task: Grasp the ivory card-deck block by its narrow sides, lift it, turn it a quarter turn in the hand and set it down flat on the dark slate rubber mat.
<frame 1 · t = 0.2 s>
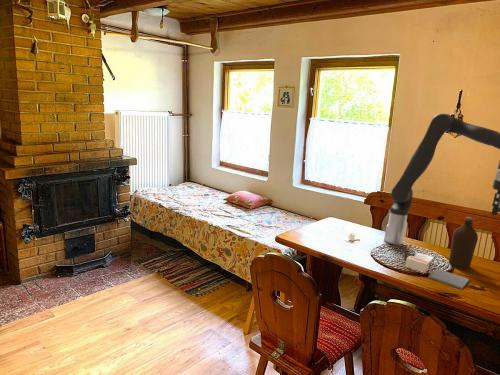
hand: (495, 213, 175), 29 cm above the table, fingers open, 8 cm apart
olive oil: (459, 265, 186), on the table
external hard drive: (421, 261, 189), on the table
deck block: (416, 269, 178), on the table
teacup and saucer: (356, 242, 208), on the table
mat: (448, 279, 169), on the table
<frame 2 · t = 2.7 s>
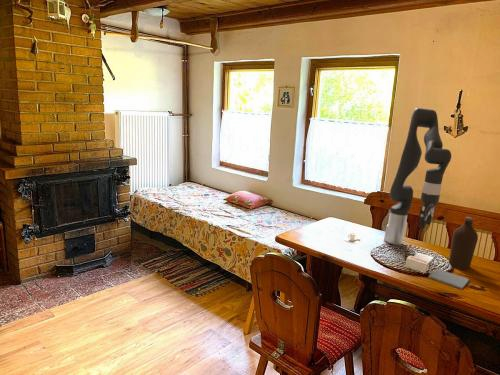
hand: (424, 226, 172), 22 cm above the table, fingers open, 8 cm apart
nothing on the table moved.
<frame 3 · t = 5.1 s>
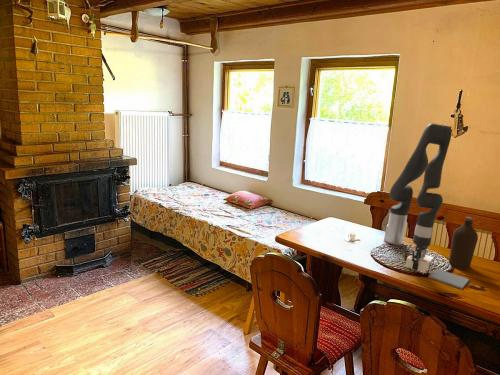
hand: (416, 267, 177), 1 cm above the table, fingers closed on deck block, 4 cm apart
deck block: (416, 269, 177), on the table, touching gripper
everything else where it was.
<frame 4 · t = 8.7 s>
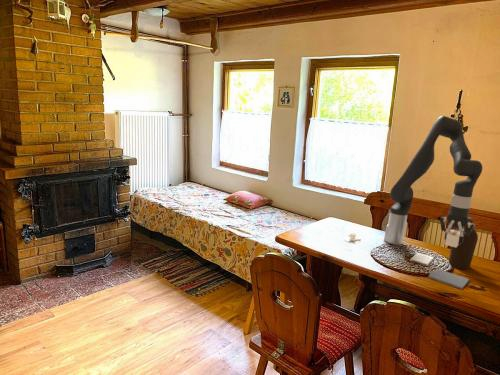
hand: (453, 242, 165), 18 cm above the table, fingers closed on deck block, 4 cm apart
deck block: (452, 243, 165), point 17 cm above the table, touching gripper
everything else where it was.
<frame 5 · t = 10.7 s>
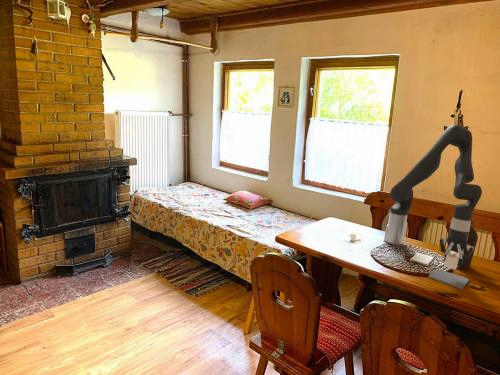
hand: (452, 263, 167), 8 cm above the table, fingers closed on deck block, 4 cm apart
deck block: (452, 265, 167), point 7 cm above the table, touching gripper
everything else where it was.
when the fingers open (2 cm above the table, at t = 12.6 s): deck block stays where it is, resting on mat.
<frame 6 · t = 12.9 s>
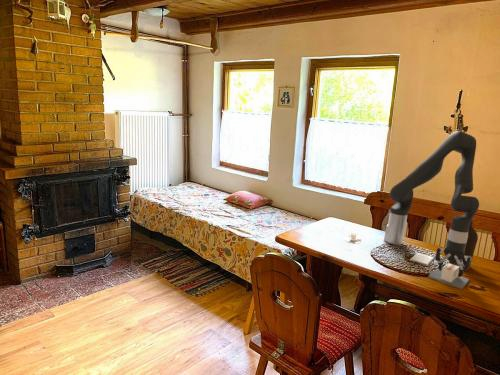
hand: (449, 273, 168), 3 cm above the table, fingers open, 7 cm apart
deck block: (448, 277, 169), point 1 cm above the table, touching mat
everything else where it was.
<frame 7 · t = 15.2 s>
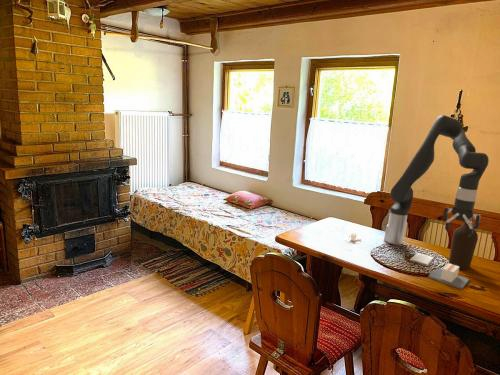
hand: (457, 233, 164), 22 cm above the table, fingers open, 8 cm apart
nothing on the table moved.
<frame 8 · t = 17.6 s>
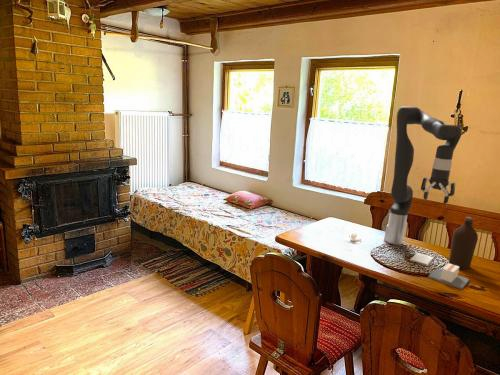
hand: (435, 201, 177), 32 cm above the table, fingers open, 8 cm apart
nothing on the table moved.
at the end: deck block inside the target area on the mat (0.1 cm from its centre), point 0.8 cm above the mat's base; deck block tilted 0°; the gripper is holding nothing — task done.
